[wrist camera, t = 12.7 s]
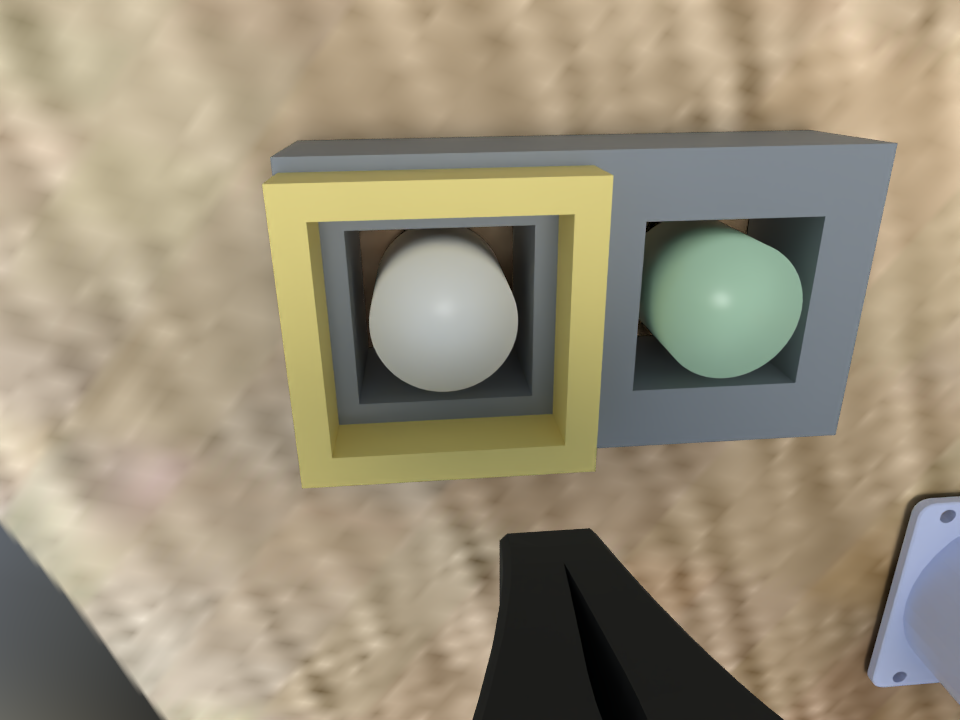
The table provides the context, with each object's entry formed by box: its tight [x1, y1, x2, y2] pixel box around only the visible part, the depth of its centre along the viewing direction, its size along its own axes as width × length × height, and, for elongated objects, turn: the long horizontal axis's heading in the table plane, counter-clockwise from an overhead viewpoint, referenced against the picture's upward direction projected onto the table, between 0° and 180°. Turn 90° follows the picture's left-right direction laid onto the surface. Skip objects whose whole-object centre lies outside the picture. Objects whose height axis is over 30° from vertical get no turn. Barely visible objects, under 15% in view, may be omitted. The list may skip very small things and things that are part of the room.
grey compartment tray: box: [262, 130, 897, 488], centre depth 16 cm, size 7×13×5 cm, turn 91°
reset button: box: [369, 227, 518, 392], centre depth 16 cm, size 3×3×3 cm
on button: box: [639, 220, 803, 378], centre depth 17 cm, size 3×3×3 cm
